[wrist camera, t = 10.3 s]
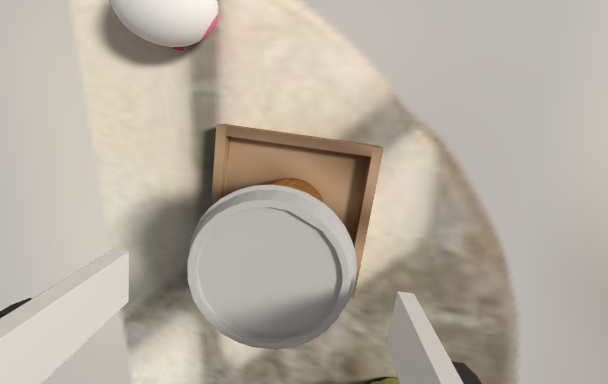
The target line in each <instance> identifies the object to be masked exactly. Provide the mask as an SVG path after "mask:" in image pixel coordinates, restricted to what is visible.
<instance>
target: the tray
mask: <svg viewBox="0 0 608 384" xmlns="http://www.w3.org/2000/svg"><path fill="white" fill-rule="evenodd" d="M382 153H383V148H382V147H380V146H376V145H369V144H361V143H354V142H347V141H340V140H333V139H326V138H319V137H312V136H305V135H298V134H291V133H284V132H277V131H270V130H263V129H256V128H249V127H242V126H235V125H228V124H217V125H216V139H215V154H214V169H213V184H212V199H211V206H213V205H214V204H215V203H216V202H218V201H219V200H220V199H221V198H223V197H225V196H227V195H229V194H231V193H233V192H235V191H237V190H240V189H243V188H247V187H251V186H255V185H267V184H269V183H271V182H274V181H276V180H279V179H282V178H297V179H300V180H304V181H306V182H308V183H309V184H311V185H312V186H313V187H314V188H316V190H317V191H318V192H319V193H320V195H321V197H322V199H323V201H324V203H325V204H326V205H327V206H328V207H329V208H330V209H331V210H332V211H333V212H334V213H335V214H336V215H337V216H338V218H339V219H340V220H341V222H342V223H343V224H344V226H345V227H346V229H347V231H348V233H349V235H350V237H351V240H352V242H353V245H354V249H355V253H356V263H357V272H356V280H355V286H354V288H353V291H352V294H351V296H350V297H352V298H354V295H355V290H356V285H357V280H358V275H359V270H360V265H361V260H362V255H363V250H364V244H365V239H366V234H367V229H368V224H369V219H370V214H371V209H372V204H373V199H374V194H375V189H376V184H377V179H378V174H379V168H380V163H381V158H382Z"/></svg>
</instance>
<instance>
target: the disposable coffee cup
mask: <svg viewBox="0 0 608 384" xmlns="http://www.w3.org/2000/svg"><path fill="white" fill-rule="evenodd" d="M187 267H188V283H189V287H190V290H191V293H192V297H193V300H194V302H195V303H196V305H197V306H198V308H199V309H200V311H201V313H202V314H203V316H204V317H205V319H206V320H207V321H209V322H210V323H211V324H212V325H213V326H214V327H215V328H216V329H218V330H219V331H220V332H221V333H222V334H224V335H226V336H227V337H229V338H231V339H233V340H235V341H237V342H239V343H242V344H245V345H248V346H251V347H257V348H268V349H283V348H290V347H295V346H298V345H301V344H304V343H307V342H309V341H311V340H313V339H314V338H316V337H318V336H319V335H321V334H322V333H323V332H325V331H326V330H327V329H328V328H329V327H330V326H331V325H332V324H333V323H334V321H335V320H336V319H337V318H338V317H339V315H340V313H341V311H342V310H343V308H344V307H345V305H346V304H347V302H348V301H349V299H350V296H351V294H352V291H353V288H354V286H355V280H356V272H357V263H356V253H355V249H354V245H353V242H352V240H351V237H350V235H349V233H348V231H347V229H346V227H345V226H344V224H343V223H342V222H341V220H340V219H339V218H338V216H337V215H336V214H335V213H334V212H333V211H332V210H331V209H330V208H329V207H328V206H327V205H326V204H325V203H324V201H323V199H322V197H321V195H320V193H319V192H318V191H317V190H316V188H314V187H313V186H312V185H311V184H309V183H308V182H306V181H304V180H300V179H297V178H282V179H279V180H276V181H274V182H271V183H269V184H267V185H255V186H251V187H247V188H243V189H240V190H237V191H235V192H233V193H231V194H229V195H227V196H225V197H223V198H221V199H220V200H219V201H218V202H216V203H215V204H214V205H213V206H211V207H210V208H209V209H208V210H207V211H206V213H205V214H204V215H203V216H202V217H201V219H200V220H199V222H198V224H197V226H196V228H195V229H194V232H193V235H192V238H191V241H190V245H189V253H188V262H187Z"/></svg>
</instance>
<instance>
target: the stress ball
mask: <svg viewBox="0 0 608 384" xmlns="http://www.w3.org/2000/svg"><path fill="white" fill-rule="evenodd" d="M109 1H110V4H111V6H112V8H113V10H114V12H115V14H116V15H117V17H118V18H119V20H120V21H121V22H122V23H123V24H124V25H125V26H126V27H127V28H128V29H129V30H130V31H132V32H133V33H134V34H136V35H137V36H139V37H141V38H143V39H145V40H147V41H149V42H152V43H155V44H158V45H162V46H168V47H173V48H174V49H178V50H184V49H183V48H182V47H183V46H189V45H192V44H195V43H197V42H199V41H201V40H203V39H204V38H205V37H207V36H208V35H209V34H210V32H211V31H212V30H213V28H214V26H215V24H216V21H217V18H218V3H217V0H109Z"/></svg>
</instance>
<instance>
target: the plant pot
mask: <svg viewBox="0 0 608 384" xmlns="http://www.w3.org/2000/svg"><path fill="white" fill-rule="evenodd" d="M370 384H400V383H399V379H397V378H386V379H384V380H382V381H373V382H372V383H370Z"/></svg>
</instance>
